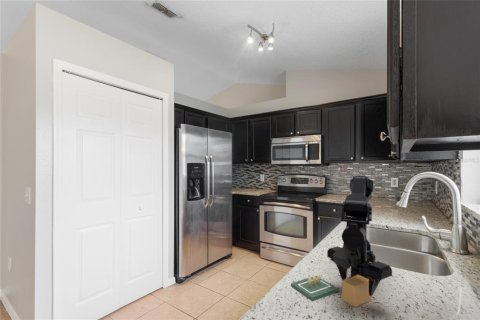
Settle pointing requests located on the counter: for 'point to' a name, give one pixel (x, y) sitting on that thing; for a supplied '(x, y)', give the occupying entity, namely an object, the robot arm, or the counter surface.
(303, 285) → the board
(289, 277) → the counter surface
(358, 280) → the block
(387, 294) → the counter surface
